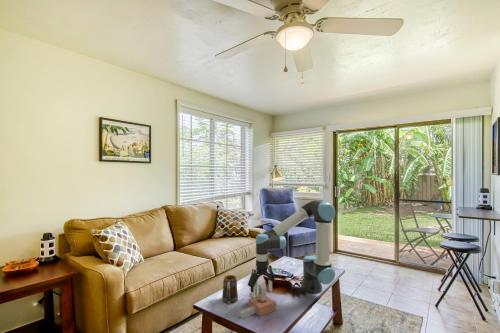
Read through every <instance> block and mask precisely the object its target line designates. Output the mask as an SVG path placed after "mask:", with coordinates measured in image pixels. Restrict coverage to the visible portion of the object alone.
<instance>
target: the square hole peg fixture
mask: <svg viewBox="0 0 500 333" xmlns="http://www.w3.org/2000/svg"><path fill="white" fill-rule="evenodd" d="M252 285H253V284H252ZM254 287H255V298H253V297H252V296H251V292H249V297H250V298H249V299H248V307H246V308H243V309H241V310H239V312H238V313H239V314H238V317H239V318H241V319H245V318H247V317H249V316H251V315H254V314H257V315H258V316H259V317H263V316H265V315H267V314H270V313H272V312H274V311H276V310H277V309H276V308H277V306H276V301H275V300H273V299H272V298H270V297H269V296H267V295H266V302H264V303H262V304H261V303H260V302H258V281H257V282H256V284H255V285H254Z"/></svg>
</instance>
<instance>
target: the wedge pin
mask: <svg viewBox="0 0 500 333" xmlns="http://www.w3.org/2000/svg"><path fill="white" fill-rule="evenodd" d="M266 285H267V284H266V283H265V282H262V283H258V284H257V293H258V302H260V303H261V304H262V303H264V302H266V296H267V294H266V293H267V292H266V289H267V288H266V287H267V286H266Z"/></svg>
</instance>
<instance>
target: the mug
mask: <svg viewBox="0 0 500 333" xmlns="http://www.w3.org/2000/svg"><path fill="white" fill-rule="evenodd" d="M222 284H223V285H222V296H221V300H222V302H223V303H225V304H227V305H231V304H235V303H237V301H238V300H239V299H238V298H239V295H238V282H237V277H236V275H234V274H227V275H225V276H224V277H223V281H222Z"/></svg>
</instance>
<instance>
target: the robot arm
mask: <svg viewBox="0 0 500 333" xmlns="http://www.w3.org/2000/svg"><path fill="white" fill-rule="evenodd" d="M335 217H336V209H335V207H334V206H333V205H332V204H331V203H329V202H327V201H322V200H321V201H320V200H316V199H315V200H311V201H308V202H306V203H305V204H304V205H302V206H300V207H299V209H298V210H297V211H295V212H294V213H293V214H291V215H289V217H287V218H286V219H284V220H282V221H281V222H279V223H278V224H277V225H274V227H272V228H271V229H269V230H264V231H263V232H262V233H258V234H256V236H255V269H254V268H252V270H251V274H250V277H249V280H248V282H247V286H248V287H250V293H251V296H252V297H253V298H255V287H254V285H255V284H256V282H257V283H258V280H259V278H260V277H261V276H264V275H266V277H267V278H268V283H267V284H268V291H269V292H271V293H272V292H273V285H274V284H273V283H274V281H275V280H276V275H275V274H274V271H273V268H272V265H270V264H269V250H281V249H284V248H286V247H287V240H286V237H285V236H284V234H286V233H287V232H289V231H290V230H292V229H293V228H294V227H296V226H298V225H299V224H300V223H302V222H304V221H305V220H308V219H310V218H313V222H314V223H315V226H316V227H315V244H316V245H315V246H316V247H315V255H307V256H304V257H303V260H302V263H303V264H302V270H303V271H302V273H303V274H302V276H303V277H302V281H301V284H300V289H301V290H302V291H303V292H305V293H308V294H319V293H321V292H322V291H323V285H329V284H332V282H333V281H334V280H335V277H336V273H335V270H334V268H333V267H332V266H333V265H332V261H331V260H330V225H331V224H332V223H333V222H332V220H334V218H335ZM252 284H253V285H252Z"/></svg>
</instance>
